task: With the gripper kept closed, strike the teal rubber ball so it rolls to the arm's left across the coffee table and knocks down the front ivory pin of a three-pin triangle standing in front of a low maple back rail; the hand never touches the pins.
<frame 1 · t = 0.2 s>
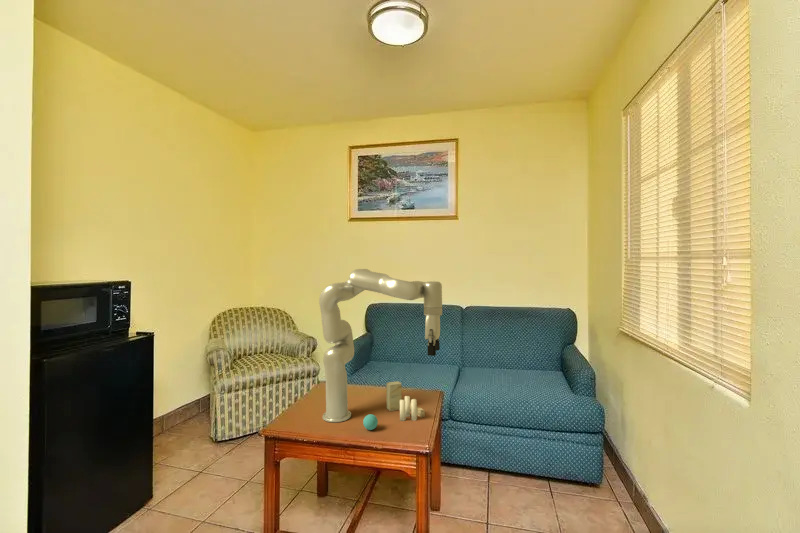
hand: (433, 352, 153), 31 cm above the table, tool pointing down, fingers open, 9 cm apart
skincare box: (394, 409, 175), on the table
back rail: (415, 412, 169), on the table
pin front: (402, 419, 162), on the table
pin left: (407, 415, 166), on the table
ball: (370, 422, 153), on the table
pin right: (414, 419, 162), on the table
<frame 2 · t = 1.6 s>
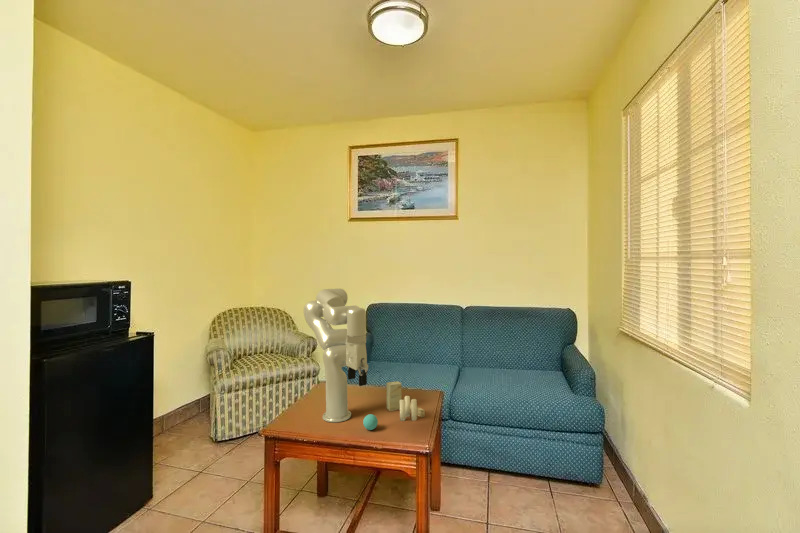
hand: (357, 381, 148), 21 cm above the table, tool pointing down, fingers open, 9 cm apart
nothing on the table moved.
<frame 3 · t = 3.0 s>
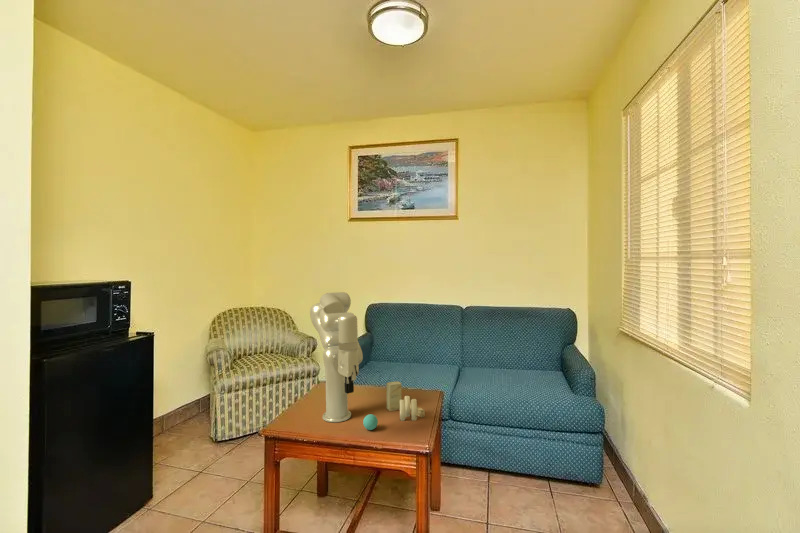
hand: (349, 392, 147), 17 cm above the table, tool pointing down, fingers closed
nothing on the table moved.
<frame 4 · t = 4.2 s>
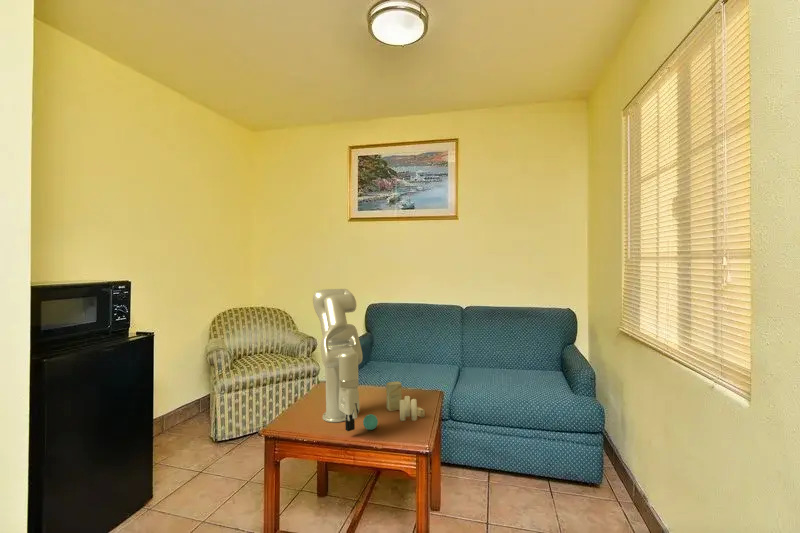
hand: (350, 429, 147), 3 cm above the table, tool pointing down, fingers closed
nothing on the table moved.
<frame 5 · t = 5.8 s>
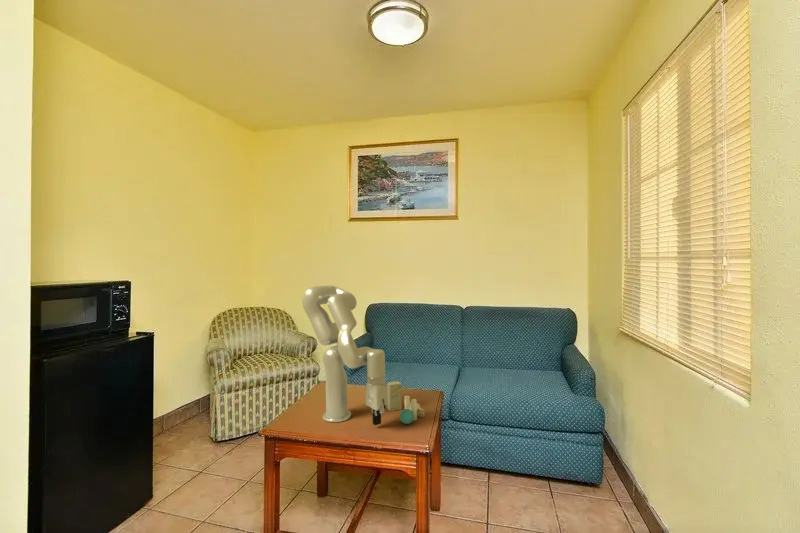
hand: (376, 423, 154), 2 cm above the table, tool pointing down, fingers closed
pin front: (404, 416, 162), point 1 cm above the table, tilted 67°, touching back rail
ball: (406, 416, 158), on the table
everything else where it was.
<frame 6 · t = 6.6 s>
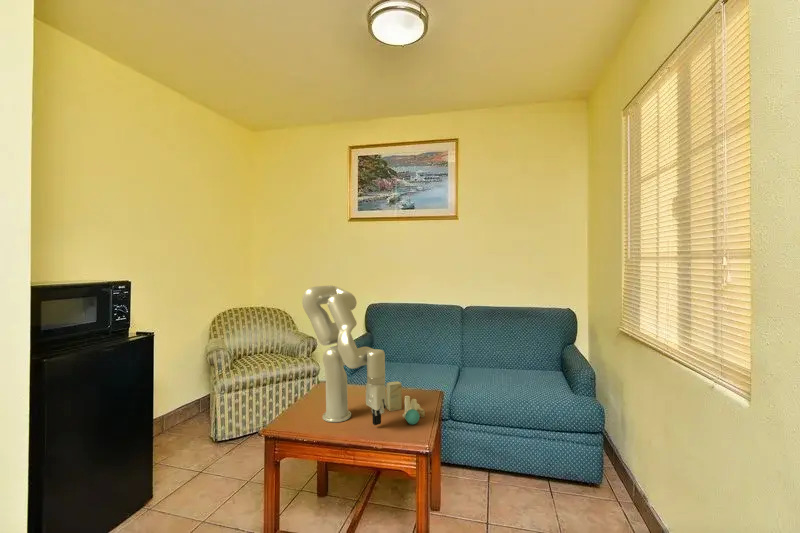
hand: (376, 423, 154), 2 cm above the table, tool pointing down, fingers closed
ball: (412, 416, 157), on the table
everything else where it was.
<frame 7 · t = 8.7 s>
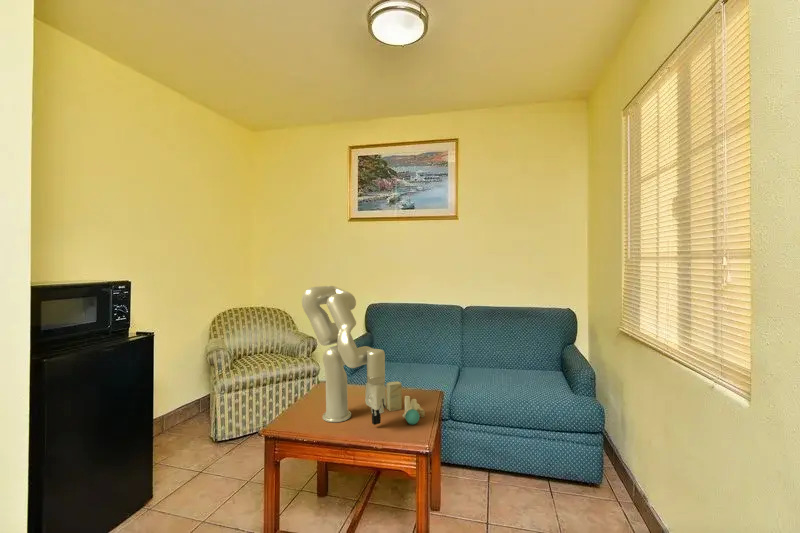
hand: (376, 423, 154), 2 cm above the table, tool pointing down, fingers closed
nothing on the table moved.
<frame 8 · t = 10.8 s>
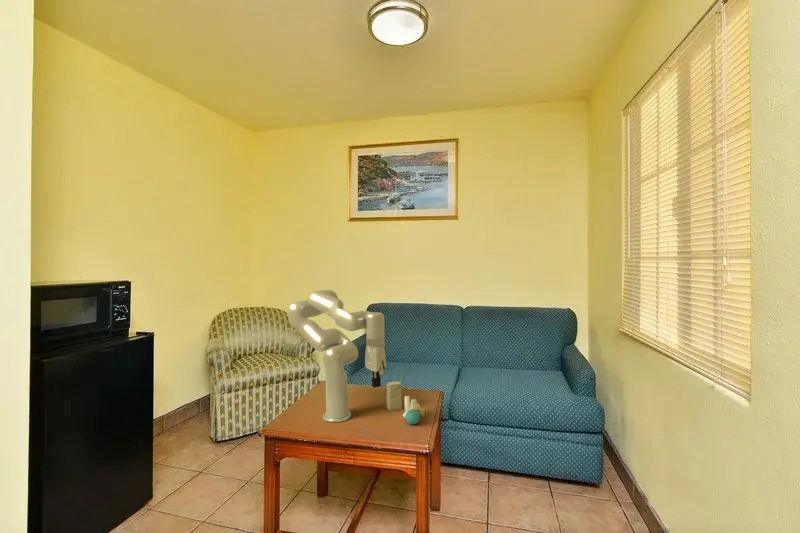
hand: (376, 386, 154), 17 cm above the table, tool pointing down, fingers closed
nothing on the table moved.
at the end: pin front tilted 67°; pin front never touched the robot; ball moved 18.0 cm from its start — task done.
